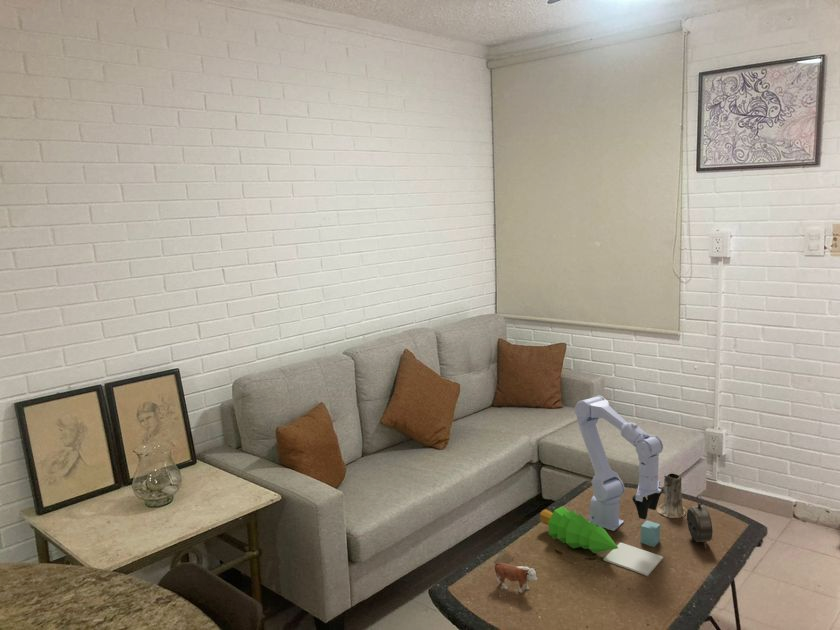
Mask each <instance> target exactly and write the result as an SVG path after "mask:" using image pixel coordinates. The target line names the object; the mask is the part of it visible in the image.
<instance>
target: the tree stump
mask: <svg viewBox="0 0 840 630" xmlns="http://www.w3.org/2000/svg"><path fill="white" fill-rule="evenodd" d="M663 482H664V483H663V486H664V487H663V490H664V498H663V501H662V503H661V504H660V505H658V506H657V507H656V511H657V513H658V514H660V515H662V516H664V517H666V518H669V519H681V517H683V516H684V515H683V514H685V512H687V511H688V510H687V508H686V507H685V506H683V494H682V493H683V492H682V476H681V475H678V474H676V473H669V474H667V475H664V480H663ZM683 518H684V517H683Z"/></svg>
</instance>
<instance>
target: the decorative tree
mask: <svg viewBox="0 0 840 630" xmlns="http://www.w3.org/2000/svg"><path fill="white" fill-rule="evenodd" d="M539 521H540V522H541V523H542V524H545V525H547V526H548V527H547V528H548V531H547V532H548V535H549V536H551V537H552V538H553V539H554V540H556V539H557V540H559V541H560V542H562V543H563V544H566V545H568V546H569V547H570V548H572V549H577V548H582V549H583V550H586V549H589V550H590V552H592V553H594V554H596V553H597V554H598V553H601V552H607V551H612V550H613V549H617V548H618V547H617V545H618V544H616V542H615V541H614V540H613V539H612V537H611V536H610V535H609V533H608V532H607V531H606V530H605V528H603V527H601V526H597V525H595V524H594V523H593V522H592V521H590V520H589V521H590V522H589V521H588V519H586V517H585V516H583V515H582V514H581V513H579V514H577V513H576V512H575V511H574V510H573V509H571V510H568V509H567V508H566V507H565V506H564V505H562V506H560V507H558V508H556V509H554V510H553V512H552V511H550V510H548V509H546V508H545V509H543V510H541V512H540V513H539Z"/></svg>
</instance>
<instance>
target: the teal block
mask: <svg viewBox="0 0 840 630" xmlns="http://www.w3.org/2000/svg"><path fill="white" fill-rule="evenodd" d="M643 522H644V523H642V524H641V525H640V543H641V544H643V543H644V544H643V545H647V546H650V547H652V546H653V547H652V548H655V547H656V546H657V545H658V544H659V543H660V542H661V541H660V539H661V524H660V523H658V522H653V521H651V520H648V519H647V520H646V519H645V521H643Z"/></svg>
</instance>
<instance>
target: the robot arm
mask: <svg viewBox="0 0 840 630" xmlns="http://www.w3.org/2000/svg"><path fill="white" fill-rule="evenodd" d="M574 413H575V416H576V419H577V423H578V428H579V430H580V433H581V436H582V439H583V441H584V445H585V448H586V450H587V454H588V456H589V459H590V461H591V465H592V468H593V471H594V476H593V478H592V479H591V485H592V492H593V493H592V494H593V496H592V497H591V499H590V502H589V521H588V522H590V521H592V522H593V523H594V524H595V525H596V526H597V527H598V526H601V527H602V528H603V529H606V530H610V531H613V532H614V531H616V530H617V529H618V528H619V527H620V526H621V525H622V524H624V523H625V521H624V520H622V519H620V500H621V499H622V496H623V495H624V494H625V490H626V488H625V484H624V482H623V480H622V479H621V478H620V476H619V473H618V472H616V471H615V470H612V469H611V466H610V463H609V459H608V457H607V455H606V451H605V448H604V445H603V442H602V440H601V437H600V434H599V431H598V428H597V423H598V421H599V419H604V420H605V421H606V422H608V423H609V424H611V425H612V426H613V427H614V428H616V429H618V430H619V431H620V436H621V437H623V439H625V440H626V441H627V442H628V443H629V444H631V445H632V446H633V447H634V448H635V452H636V453H637V456H638V457H637V458H638V461H639V462H638V463H639V464H638V467H639V468H638V470H639V471H638V485H637V491H636V494H634V495H633V496H632V498H631V499H632V502H633V503H634V505H635V507H636V508H635V509H636V511H637V515H638V518H639V519H642V520H643V521H644V520H645V521H646V519H647V517H648V512H649V510H653V511H657V508H658V503H659V500H660V497H661V495H662V493H663V492H664V487H660V486H661V479H659V462H660V461H659V460H660V459H659V458H660V456H659V454H661V453H662V451H663V450H664V444H663V441H662V440H661V438H659V437H658V436H657V435H655V434H654V435H651V434H649V433H648V432H646V431H645V430H643V429H642V428H641V427H639V426H638V424H637V423H636V422H633V421H630V422H628V421H626V420H625V418H623V417H622V416H621V415H620V414H619V413H618V412H617V411H616V410H615V409H613V408H612V407H611V406H610V402H609V401H608V400H607V399H605V397H604V396H602V395H599V394H598V395H595V396H593V397H590V398H587V399H583V400H581V399H580V400H578V401H577V402H576V404H575V406H574Z"/></svg>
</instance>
